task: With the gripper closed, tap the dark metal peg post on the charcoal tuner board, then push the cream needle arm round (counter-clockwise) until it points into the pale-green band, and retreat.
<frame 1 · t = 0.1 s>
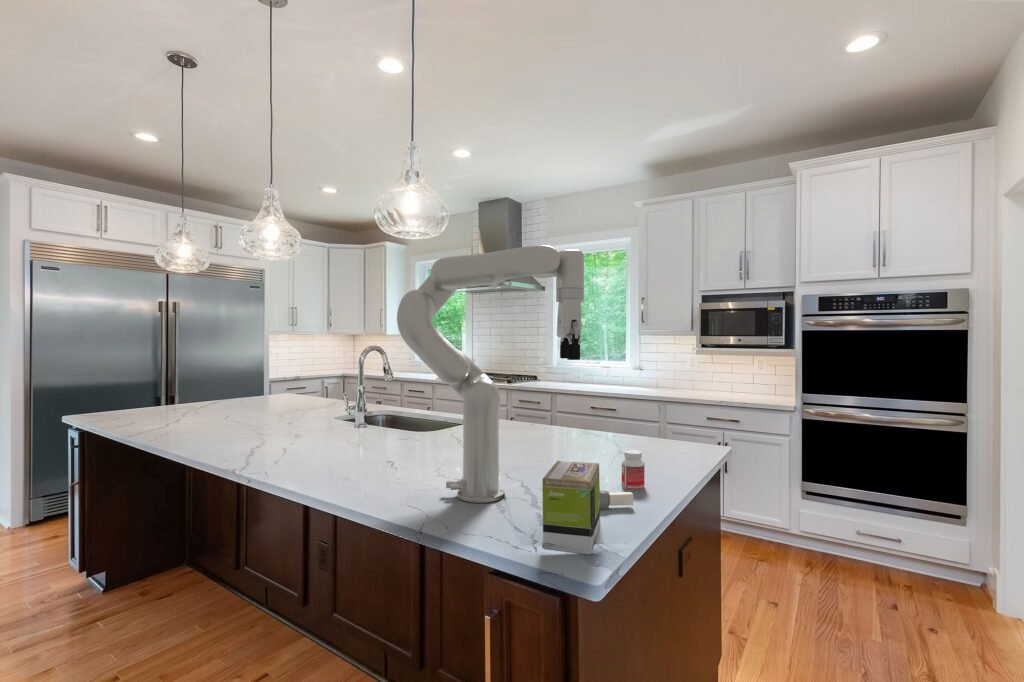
hand: (569, 359, 137), 37 cm above the counter, tool pointing down, fingers open, 9 cm apart
tea box: (572, 539, 106), on the counter
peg: (614, 499, 121), point 3 cm above the counter, hinge at 0.0°
tuner board: (603, 510, 124), on the counter
pill bottle: (632, 492, 139), on the counter
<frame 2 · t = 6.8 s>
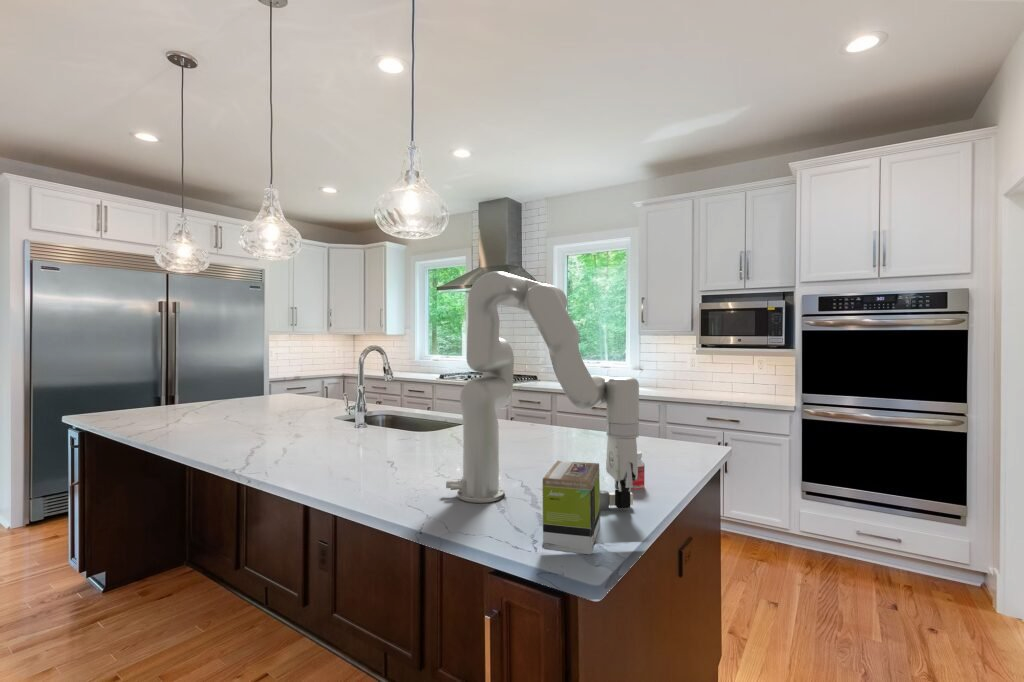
hand: (622, 507, 119), 2 cm above the counter, tool pointing down, fingers closed
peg: (614, 499, 121), point 3 cm above the counter, hinge at 1.3°, touching gripper
everything else where it was.
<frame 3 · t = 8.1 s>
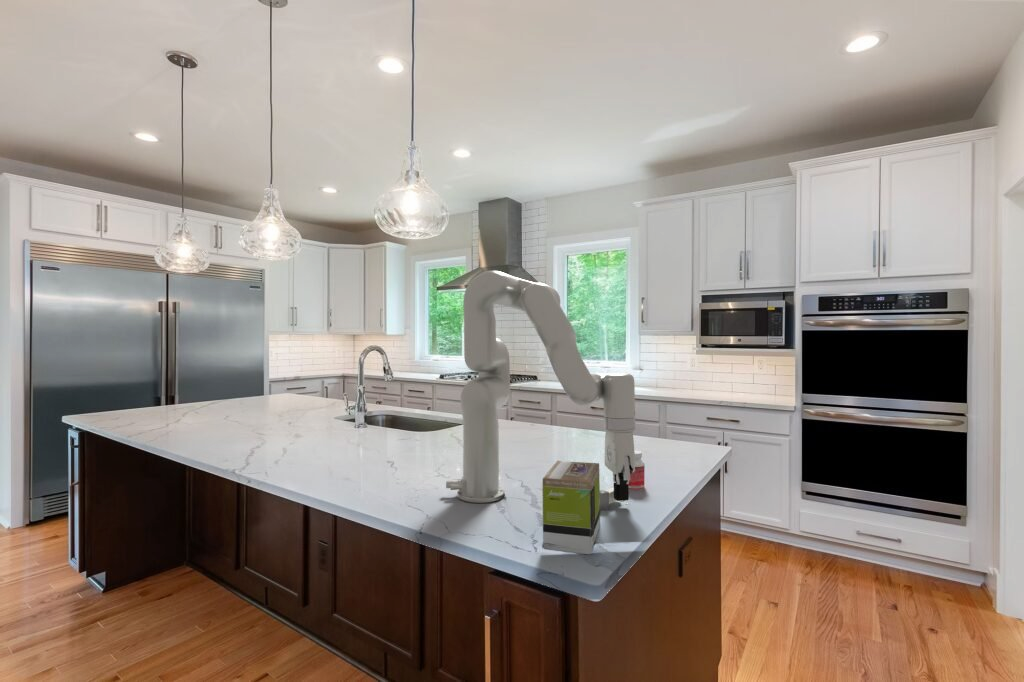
hand: (621, 499, 122), 3 cm above the counter, tool pointing down, fingers closed
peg: (608, 497, 123), point 3 cm above the counter, hinge at 43.7°, touching gripper
everything else where it was.
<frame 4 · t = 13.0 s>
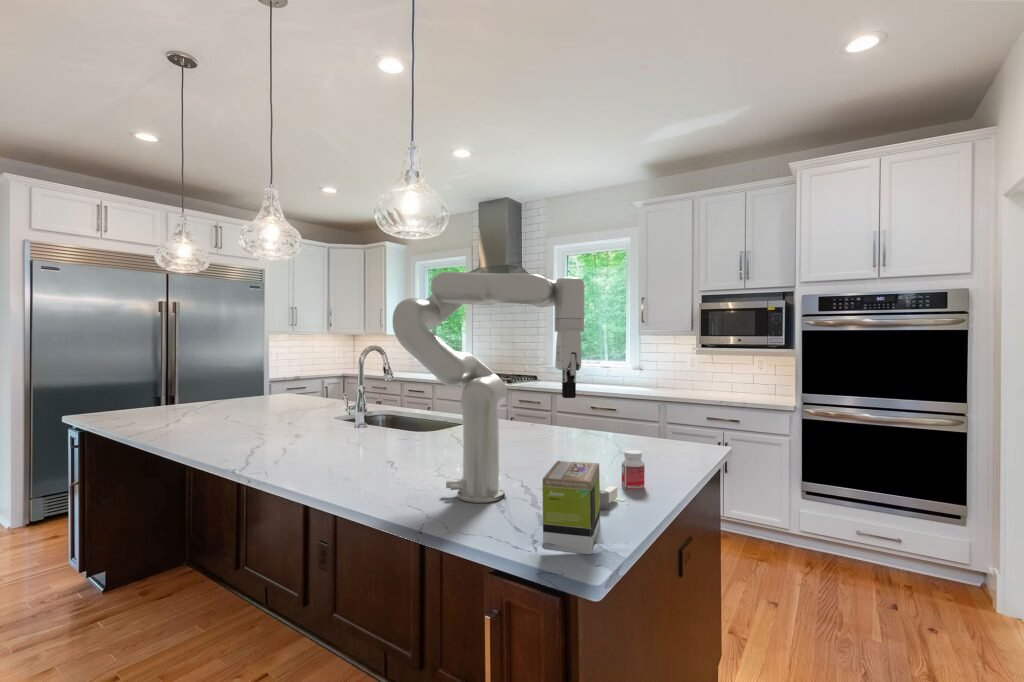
hand: (568, 397, 129), 27 cm above the counter, tool pointing down, fingers closed
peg: (607, 497, 123), point 3 cm above the counter, hinge at 50.8°
everything else where it was.
at the end: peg at +51° (first picture: +0°) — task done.
